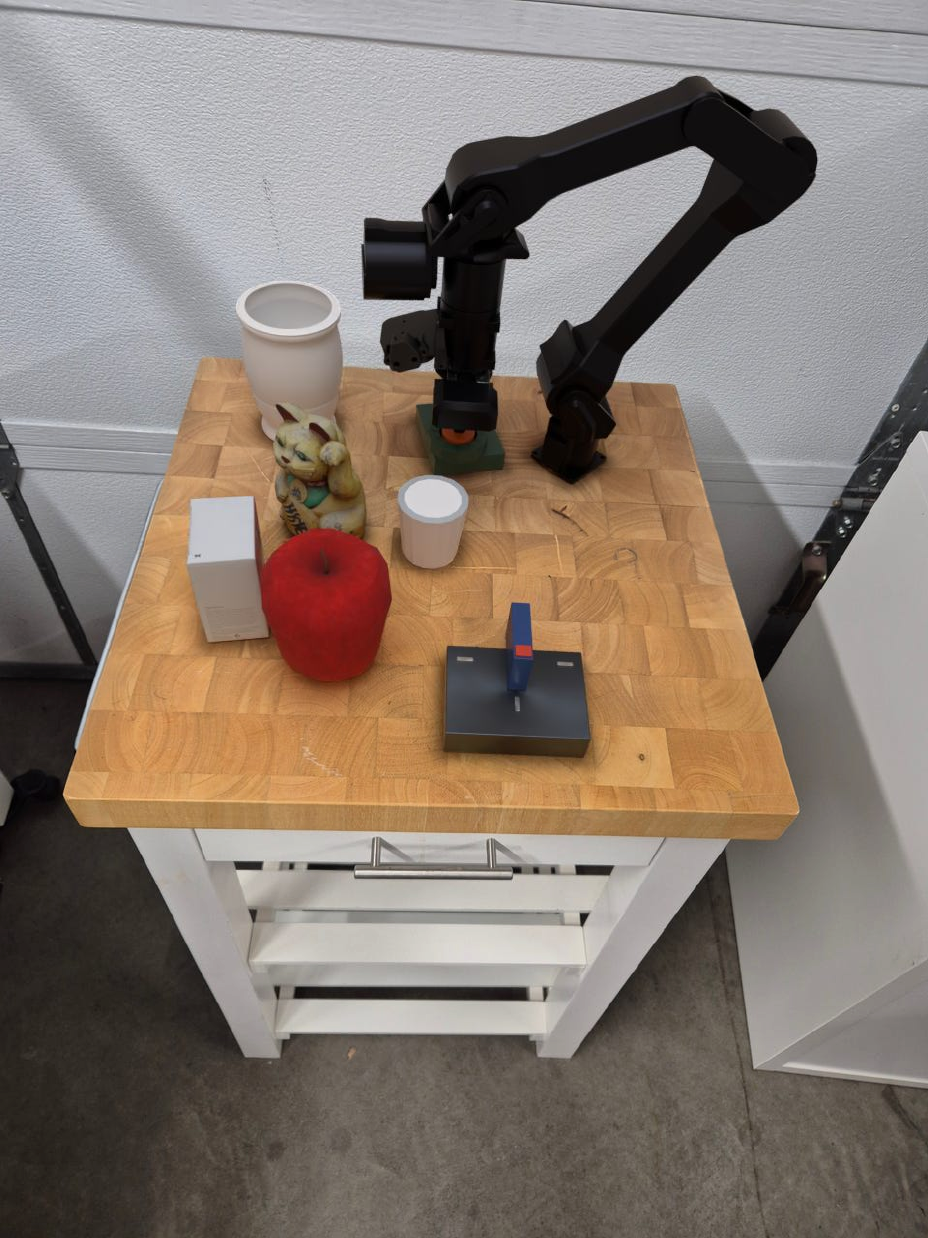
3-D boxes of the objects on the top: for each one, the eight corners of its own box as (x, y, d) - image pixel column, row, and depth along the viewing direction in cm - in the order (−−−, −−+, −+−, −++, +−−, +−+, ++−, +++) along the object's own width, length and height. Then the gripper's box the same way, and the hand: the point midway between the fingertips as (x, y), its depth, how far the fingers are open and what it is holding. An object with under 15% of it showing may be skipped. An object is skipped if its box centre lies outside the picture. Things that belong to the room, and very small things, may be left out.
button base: (413, 420, 96) (414, 392, 93) (480, 414, 98) (483, 386, 95) (433, 482, 90) (435, 454, 86) (505, 475, 91) (509, 447, 88)
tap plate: (571, 640, 77) (578, 619, 75) (584, 757, 69) (591, 738, 67) (445, 634, 76) (447, 612, 74) (443, 751, 68) (445, 732, 66)
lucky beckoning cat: (264, 530, 83) (245, 407, 71) (316, 487, 88) (306, 365, 76) (339, 572, 80) (332, 451, 69) (389, 525, 85) (390, 405, 73)
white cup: (455, 579, 81) (461, 528, 75) (388, 565, 81) (389, 514, 76) (469, 532, 85) (475, 481, 80) (405, 519, 86) (407, 467, 80)
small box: (269, 639, 74) (256, 560, 66) (206, 644, 73) (184, 564, 65) (268, 574, 79) (255, 493, 71) (208, 578, 78) (189, 496, 70)
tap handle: (505, 634, 73) (511, 600, 69) (522, 635, 73) (530, 601, 69) (507, 689, 69) (514, 656, 66) (525, 690, 69) (533, 657, 66)
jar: (363, 421, 95) (361, 302, 84) (306, 468, 89) (296, 346, 78) (292, 387, 98) (281, 268, 87) (233, 429, 92) (212, 307, 81)
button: (437, 434, 91) (438, 421, 90) (468, 431, 92) (470, 419, 90) (445, 455, 89) (446, 442, 88) (476, 452, 90) (478, 439, 88)
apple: (272, 708, 70) (254, 606, 59) (271, 616, 76) (254, 509, 66) (395, 697, 71) (398, 596, 61) (384, 608, 78) (385, 503, 67)
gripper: (391, 242, 82) (390, 375, 94) (378, 346, 71) (379, 483, 83) (500, 251, 83) (485, 382, 95) (506, 355, 71) (488, 490, 83)
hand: (458, 430), depth 89 cm, fingers closed, pressing on button
